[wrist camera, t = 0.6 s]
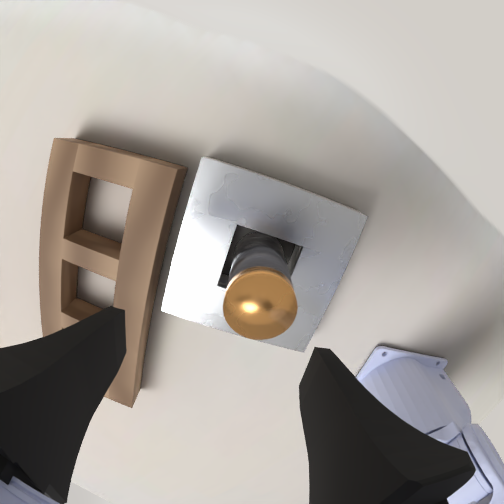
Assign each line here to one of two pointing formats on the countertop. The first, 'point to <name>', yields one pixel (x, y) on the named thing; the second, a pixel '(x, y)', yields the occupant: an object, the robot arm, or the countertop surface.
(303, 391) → the robot arm
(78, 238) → the rack
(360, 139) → the countertop surface
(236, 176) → the socket block
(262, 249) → the steel peg
